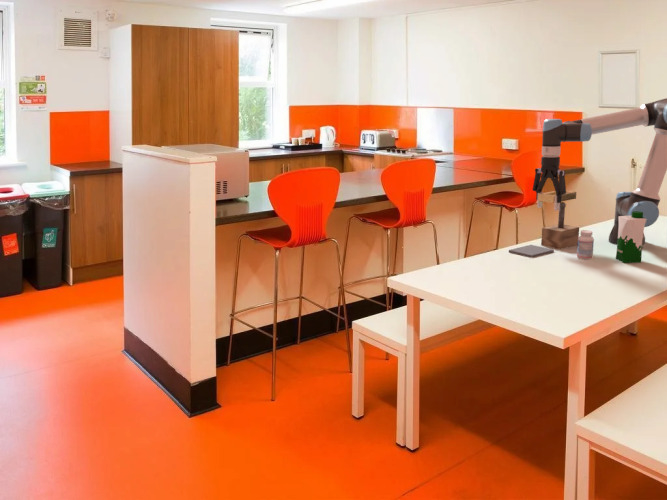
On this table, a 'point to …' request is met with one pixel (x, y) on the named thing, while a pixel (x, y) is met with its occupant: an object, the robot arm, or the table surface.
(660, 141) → the robot arm
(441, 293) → the table surface
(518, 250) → the rubber mat
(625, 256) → the milk carton
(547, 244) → the walnut stand
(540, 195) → the golden brown rectangular frame
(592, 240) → the pill bottle
